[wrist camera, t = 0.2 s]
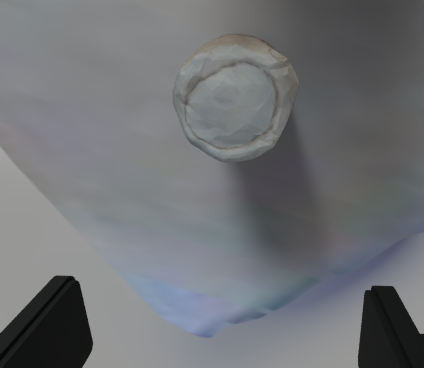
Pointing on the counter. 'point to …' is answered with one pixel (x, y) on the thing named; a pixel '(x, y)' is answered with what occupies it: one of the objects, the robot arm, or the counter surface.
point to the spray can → (235, 97)
